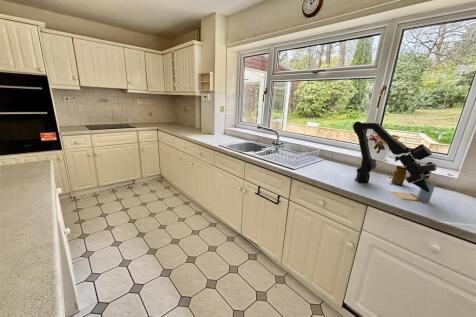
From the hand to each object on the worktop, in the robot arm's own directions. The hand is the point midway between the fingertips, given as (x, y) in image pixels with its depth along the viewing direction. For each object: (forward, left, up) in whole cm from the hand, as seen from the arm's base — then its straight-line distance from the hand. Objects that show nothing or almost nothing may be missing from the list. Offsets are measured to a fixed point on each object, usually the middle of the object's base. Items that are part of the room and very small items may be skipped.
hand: (430, 190), depth 107 cm
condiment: (+2, +25, -7) cm, 26 cm away
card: (-5, +5, -7) cm, 10 cm away
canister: (-1, +1, -7) cm, 7 cm away
